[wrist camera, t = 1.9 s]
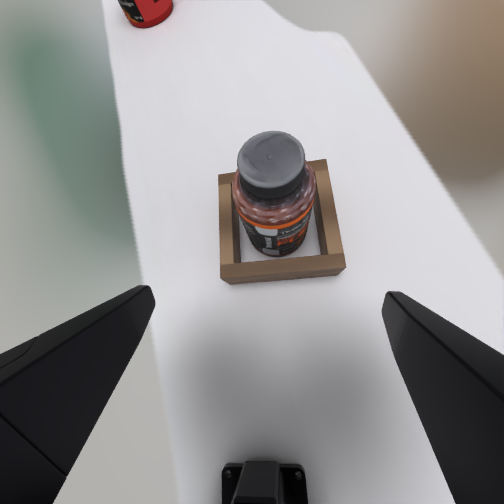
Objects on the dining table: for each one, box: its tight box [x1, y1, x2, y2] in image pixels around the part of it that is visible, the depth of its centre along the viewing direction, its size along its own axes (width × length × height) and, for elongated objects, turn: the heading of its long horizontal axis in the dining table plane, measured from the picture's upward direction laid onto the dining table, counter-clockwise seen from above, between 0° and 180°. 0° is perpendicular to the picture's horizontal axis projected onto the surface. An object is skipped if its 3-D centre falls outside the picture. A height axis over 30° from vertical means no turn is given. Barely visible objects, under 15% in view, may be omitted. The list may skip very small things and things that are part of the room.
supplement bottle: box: [232, 131, 316, 256], centre depth 19 cm, size 6×6×11 cm
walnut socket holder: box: [218, 159, 346, 285], centre depth 22 cm, size 10×10×4 cm
